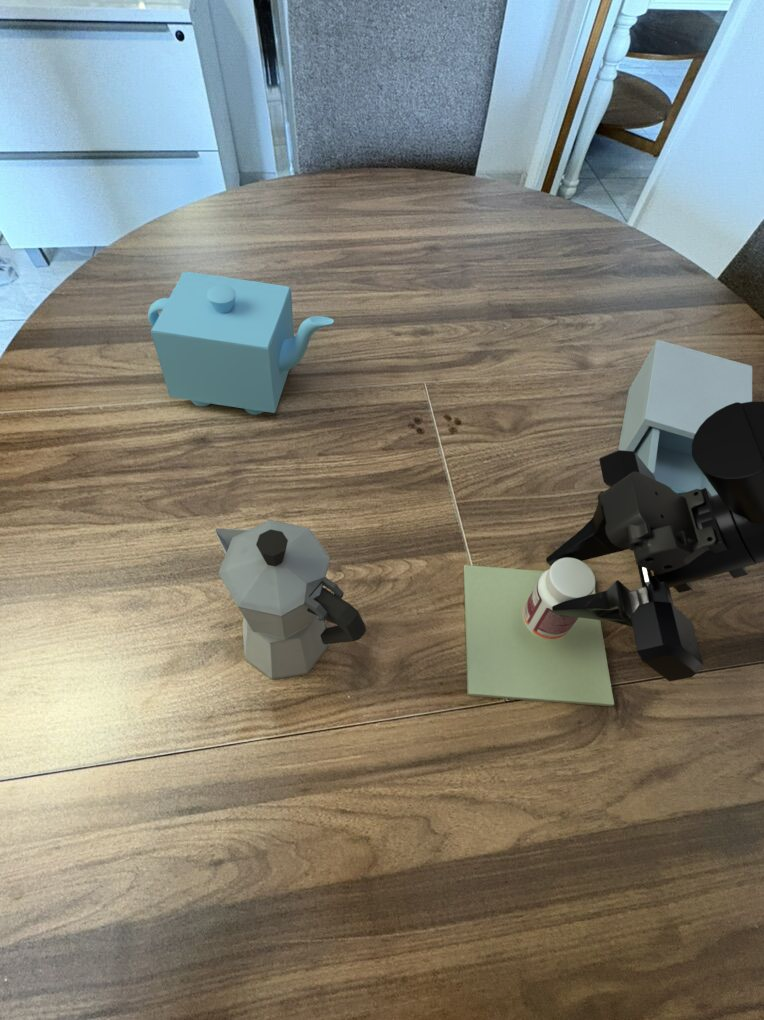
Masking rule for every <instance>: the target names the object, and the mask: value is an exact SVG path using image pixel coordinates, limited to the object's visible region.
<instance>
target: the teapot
mask: <svg viewBox="0 0 764 1020" xmlns="http://www.w3.org/2000/svg"><path fill="white" fill-rule="evenodd" d="M292 296H293V295H292V288H291V286H286V285H280V284H273V283H268V282H260V281H254V280H247V279H241V278H234V277H227V276H220V275H213V274H208V273H207V274H206V273H200V272H192V271H186V270H185V271H184V270H183V271H182V274H181V275H180V277H179V280H178V281H177V283H176V285H175V286H174V288H173V290H172V292H171V293H170V295H169V297H161V298H159V299H157V300H154V302H152V304H151V305H150V307H149V309H148V312H147V320H148V322H149V324H150V326H151V327H152V328H151V329H150V335H151V339H152V341H153V344H154V348H155V352H156V355H157V358H158V362H159V366H160V369H161V372H162V376H163V380H164V382H165V386H166V389H167V393H168V396H169V398H173V399H178V400H179V399H180V400H185V401H186V400H187V401H191V402H192V404H193V405H195V406H198V407H207V406H209V405H211V404H212V405H218V406H224V407H225V406H226V407H233V408H238V409H239V408H240V409H244V411H245V412H246V413H248V414H250V415H260V414H262V413H264V412H266V413H272V414H275V413H276V411H277V408H278V405H279V402H280V399H281V396H282V393H283V390H284V387H285V384H286V381H287V378H288V375H289V372H290V370H291V369H293V368H295V367H296V366H297V365H298V364H299V363H300V362H301V361H302V359H304V356H305V354H306V351H307V350H308V346H309V344H310V340H311V338H312V337H313V335H314V334H315V332H316V331H317V330H319V329H322V328H324V327H328V326H330V325H332V324H334V322H335V320H334V319H333V318H331V317H328V316H323V315H316V316H310V317H308V318H306V319H304V320H303V321H302V322H301V324H300V325H299V327H298V330H297V332H296V334H295V333H294V332H295V331H294V330H295V329H294V314H293V312H294V311H293V297H292ZM159 312H160V314H159ZM294 334H295V335H294Z"/></svg>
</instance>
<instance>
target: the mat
mask: <svg viewBox="0 0 764 1020" xmlns="http://www.w3.org/2000/svg"><path fill="white" fill-rule="evenodd" d="M545 571H546V570H534V569H533V570H532V569H519V568H510V567H509V568H508V567H496V566H495V567H494V566H484V565H483V566H481V565H473V564H472V565H471V564H464V565H463V593H464V595H463V596H464V629H465V630H464V631H465V632H464V633H465V634H464V635H465V659H466V660H465V663H466V665H465V666H466V695H467V696H468V697H482V698H496V699H506V700H507V699H508V700H521V701H532V702H533V701H534V702H548V703H549V702H550V703H561V704H562V703H563V704H575V705H589V706H600V707H601V706H602V707H605V706H606V707H614V706H615V701H614V700H615V699H614V695H613V688H612V682H611V677H610V676H611V675H610V671H609V670H610V669H609V665H608V664H609V663H608V659H607V653H606V647H605V641H604V635H603V629H602V623H601V620H595V619H587V618H578V619H577V621H576V622H575V624H574V625H573V626H572V628H571V629H570V630H569V632H568V633H567V634H566V635H565V636H564V637H562V638H560V639H557V640H544V639H541V638H539V637H537V636H535V635H533V634H532V633H531V632H530V631H529V629H528V628H527V627H526V625H525V623H524V620H523V608H524V606H525V604H526V602H527V600H528V599H529V597H530V595H531V593H532V591H533V589H534V588H535V586H536V584H537V582H538V580H539V578H540V576H541V575H542V574H543V573H544V572H545ZM595 593H597V592H596V587H595V588H594V590H593V592H592V593H591V594H595Z"/></svg>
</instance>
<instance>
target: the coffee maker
mask: <svg viewBox="0 0 764 1020" xmlns="http://www.w3.org/2000/svg"><path fill="white" fill-rule="evenodd" d="M214 533H215V535H216V537H217V539H218V542H219V543H220V546H221V548H222V551H223V553H224V554H225V556H224V558H223V559H222V563H221V565H220V568H219V570H218V576H219V577H220V579H221V581H222V582H223V584H224V586H225V588H226V589H227V591H228V593H229V594H230V596H231V598H232V600H233V601H234V603H235V605H236V606H237V608H238V609H239V610H240V612H241V614H242V618H243V619H242V627H241V629H242V643H243V655H244V656H243V657H244V661H245V662H247V663H248V665H249V664H250V666H252V667H254V668H255V669H256V670H258V671H259V672H260V673H261V674H263V675H264V676H265V677H267V678H268V679H270V680H271V681H274V680H281V679H285V678H292V677H298V676H304V675H308V674H309V673H310V672H311V670H312V669H313V668H314V666H315V665H316V664H317V663H318V661H319V660H320V659H321V658H322V657H323V655H324V654H325V652H326V651H327V650H328V648H329V645H333V644H342V643H353V642H356V641H359V640H361V639H362V638H363V636H364V634H366V632H367V626H366V624H365V622H364V620H363V618H362V616H361V614H360V613H359V611H358V610H357V608H355V606H353V605H352V604H351V603H349V602H348V601H346V600H345V599H343V597H344V593H345V592H344V591H343V590H342V589H341V588H340V587H339V585H337V583H335V582H334V581H332V580H331V579H329V578H328V577H327V574H328V570H329V566H330V561H331V557H330V556H329V554H328V552H327V551H326V550H325V548H324V547H323V545H322V544H321V542H320V541H319V540H318V539H317V537H316V535H315V534H314V532H313V531H312V530H311V528H310V527H307V526H301V525H298V524H293V523H287V522H284V521H279V520H273V519H267V521H264V522H262V523H260V524H258V525H256V526H254V527H252V528H247V529H246V528H224V527H223V528H221V527H217V528H215V529H214ZM326 621H327V622H329V623H332V624H333V625H334V626H328V627H326Z"/></svg>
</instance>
